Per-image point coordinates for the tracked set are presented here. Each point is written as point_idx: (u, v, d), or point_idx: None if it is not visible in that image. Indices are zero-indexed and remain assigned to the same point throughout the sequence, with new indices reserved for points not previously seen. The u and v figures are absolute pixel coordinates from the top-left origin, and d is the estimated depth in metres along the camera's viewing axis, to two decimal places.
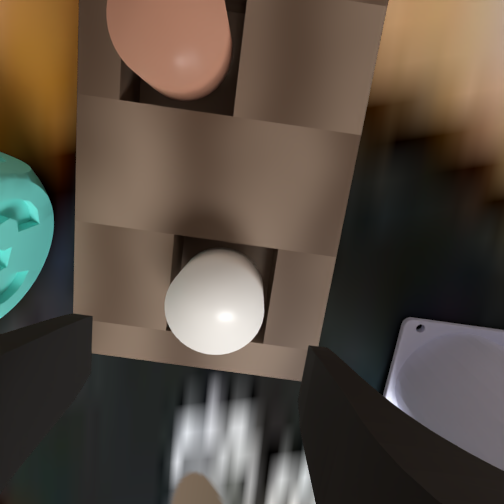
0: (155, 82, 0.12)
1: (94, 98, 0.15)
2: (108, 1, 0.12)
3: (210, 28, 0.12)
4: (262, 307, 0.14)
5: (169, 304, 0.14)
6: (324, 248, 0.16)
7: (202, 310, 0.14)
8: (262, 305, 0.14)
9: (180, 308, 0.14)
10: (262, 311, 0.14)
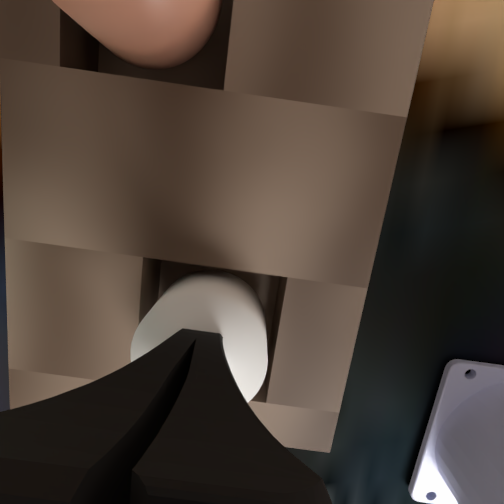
0: (98, 29, 0.08)
1: (24, 64, 0.10)
2: None
3: None
4: (265, 357, 0.10)
5: (137, 353, 0.10)
6: (351, 276, 0.12)
7: None
8: (265, 354, 0.10)
9: None
10: (265, 362, 0.10)
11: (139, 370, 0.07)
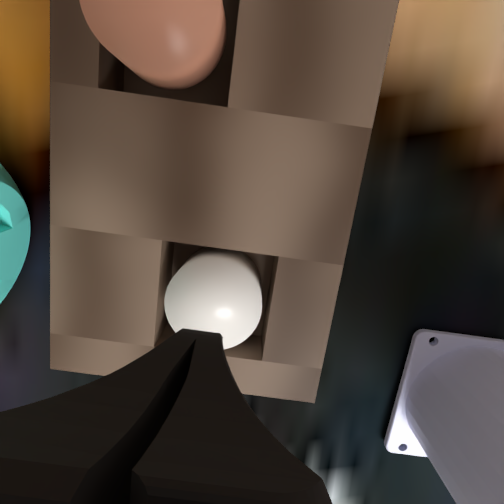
0: (136, 65, 0.11)
1: (69, 86, 0.13)
2: None
3: (200, 1, 0.10)
4: (260, 303, 0.15)
5: (169, 300, 0.15)
6: (330, 255, 0.14)
7: (201, 306, 0.15)
8: (260, 301, 0.15)
9: (180, 304, 0.15)
10: (260, 307, 0.15)
11: (139, 370, 0.07)
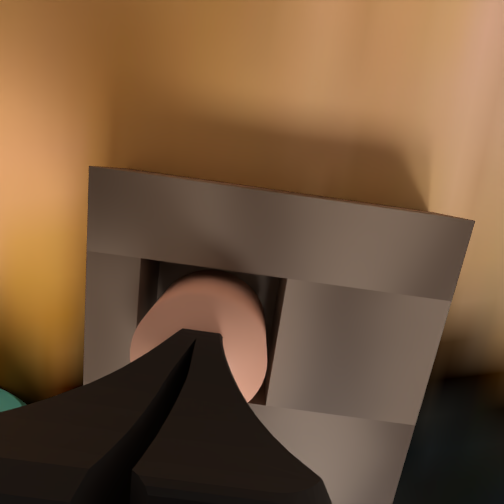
0: None
1: None
2: (132, 343, 0.10)
3: (248, 370, 0.10)
4: None
5: None
6: None
7: None
8: None
9: None
10: None
11: (139, 370, 0.07)
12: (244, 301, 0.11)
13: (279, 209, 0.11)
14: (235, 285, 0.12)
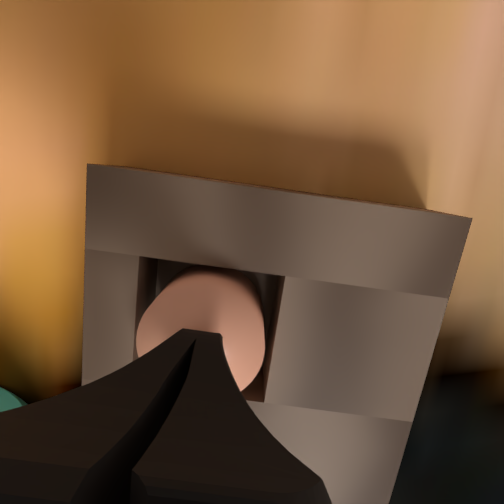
0: None
1: None
2: (138, 331, 0.11)
3: (247, 355, 0.11)
4: None
5: None
6: None
7: None
8: None
9: None
10: None
11: (139, 369, 0.07)
12: (242, 292, 0.12)
13: (277, 207, 0.11)
14: (234, 277, 0.12)
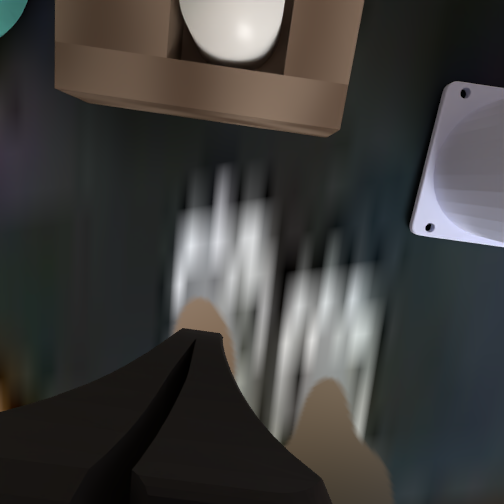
0: None
1: None
2: None
3: None
4: None
5: None
6: None
7: None
8: None
9: None
10: None
11: (139, 369, 0.07)
12: None
13: None
14: None
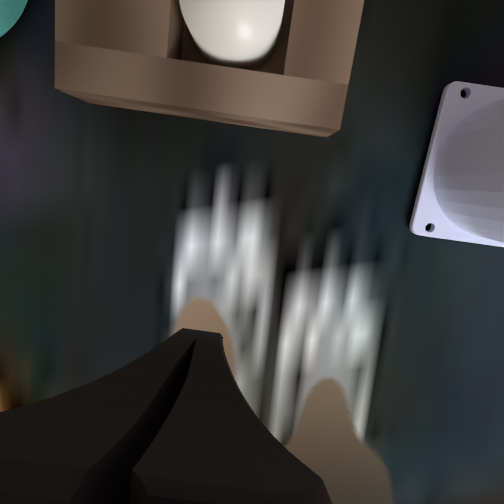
0: None
1: None
2: None
3: None
4: None
5: None
6: None
7: None
8: None
9: None
10: None
11: (139, 369, 0.07)
12: None
13: None
14: None
